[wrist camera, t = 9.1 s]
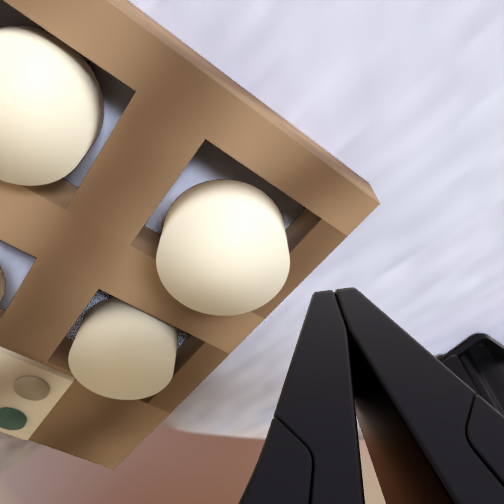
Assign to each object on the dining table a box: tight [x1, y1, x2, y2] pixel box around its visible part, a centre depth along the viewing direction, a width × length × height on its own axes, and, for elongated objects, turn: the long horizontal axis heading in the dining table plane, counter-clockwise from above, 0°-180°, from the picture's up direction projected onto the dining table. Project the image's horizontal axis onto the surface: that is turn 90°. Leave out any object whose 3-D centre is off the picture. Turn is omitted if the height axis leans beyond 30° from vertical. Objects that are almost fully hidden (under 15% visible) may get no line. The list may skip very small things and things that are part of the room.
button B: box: [0, 25, 104, 186], centre depth 17 cm, size 5×5×2 cm
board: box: [0, 0, 380, 469], centre depth 22 cm, size 18×24×2 cm
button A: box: [156, 179, 290, 316], centre depth 19 cm, size 5×5×2 cm
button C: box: [68, 298, 179, 400], centre depth 24 cm, size 5×5×2 cm
